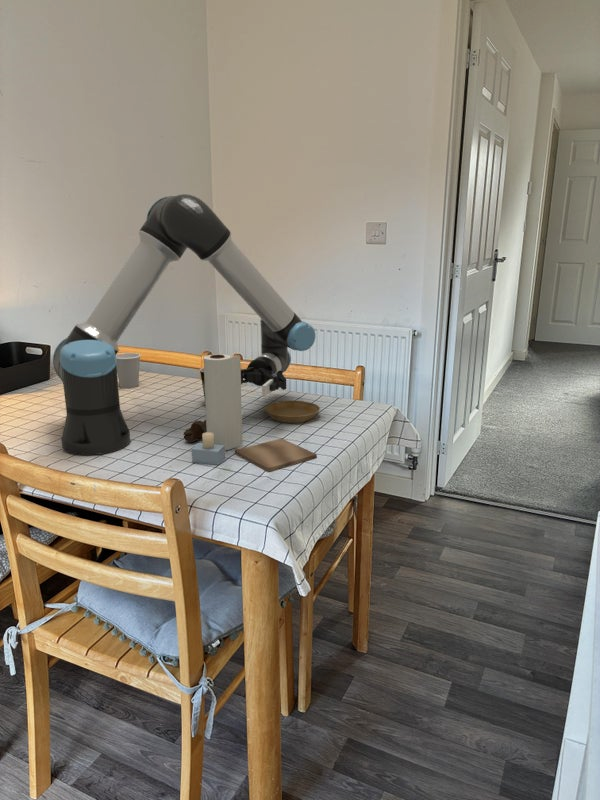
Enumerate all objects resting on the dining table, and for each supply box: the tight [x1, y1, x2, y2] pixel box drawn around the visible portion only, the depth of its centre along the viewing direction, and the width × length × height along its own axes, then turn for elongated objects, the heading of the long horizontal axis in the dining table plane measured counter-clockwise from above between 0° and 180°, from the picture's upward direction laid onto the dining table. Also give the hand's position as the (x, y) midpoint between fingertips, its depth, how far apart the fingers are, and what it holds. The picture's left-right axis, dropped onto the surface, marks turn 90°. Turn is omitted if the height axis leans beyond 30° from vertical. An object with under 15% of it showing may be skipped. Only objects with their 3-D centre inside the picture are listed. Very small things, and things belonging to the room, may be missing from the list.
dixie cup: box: [116, 352, 141, 389], centre depth 186 cm, size 8×8×10 cm
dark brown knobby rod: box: [182, 419, 207, 443], centre depth 142 cm, size 6×5×15 cm
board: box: [234, 438, 318, 473], centre depth 130 cm, size 13×13×1 cm
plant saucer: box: [264, 400, 321, 424], centre depth 157 cm, size 15×15×3 cm
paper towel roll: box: [203, 353, 243, 451], centre depth 132 cm, size 7×6×21 cm
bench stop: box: [191, 432, 226, 466], centre depth 126 cm, size 4×6×6 cm, turn 75°
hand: (236, 389), depth 140 cm, fingers open, 13 cm apart
